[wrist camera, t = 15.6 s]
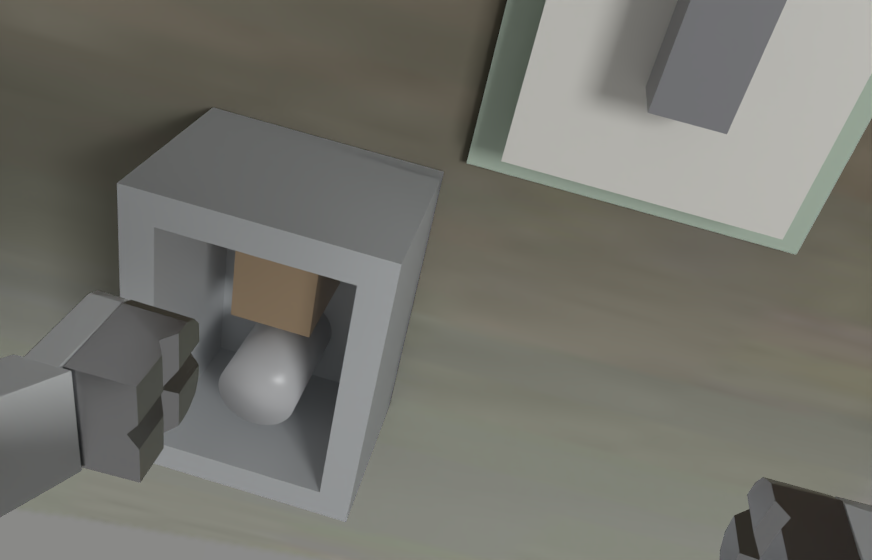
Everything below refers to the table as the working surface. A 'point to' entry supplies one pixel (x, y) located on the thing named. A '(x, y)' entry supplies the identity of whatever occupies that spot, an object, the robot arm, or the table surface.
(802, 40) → the lid
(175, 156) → the storage box
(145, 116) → the table surface
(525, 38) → the mat
